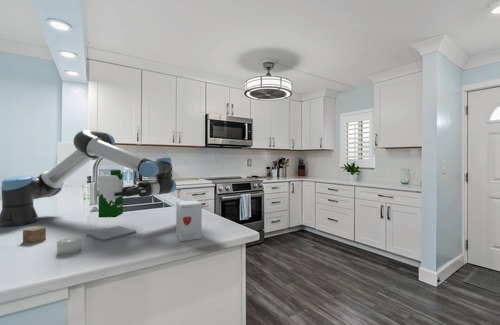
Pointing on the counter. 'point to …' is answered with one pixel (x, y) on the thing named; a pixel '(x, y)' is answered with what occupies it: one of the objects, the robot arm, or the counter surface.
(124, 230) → the slate board
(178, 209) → the supplement box
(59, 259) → the counter surface
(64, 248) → the white cylinder puck
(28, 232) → the walnut block
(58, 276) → the counter surface
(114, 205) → the soya milk
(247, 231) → the counter surface
